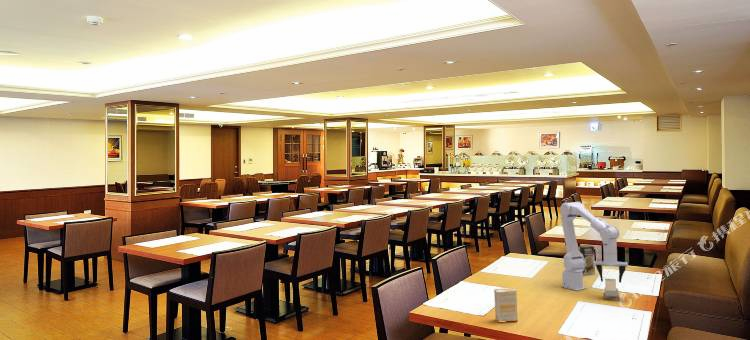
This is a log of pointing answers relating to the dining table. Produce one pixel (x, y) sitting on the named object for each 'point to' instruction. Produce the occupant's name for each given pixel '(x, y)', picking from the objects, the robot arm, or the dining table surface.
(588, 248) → the coffee box
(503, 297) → the supplement box
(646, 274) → the dining table surface
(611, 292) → the grey slab
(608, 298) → the walnut slab
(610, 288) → the cream cube
